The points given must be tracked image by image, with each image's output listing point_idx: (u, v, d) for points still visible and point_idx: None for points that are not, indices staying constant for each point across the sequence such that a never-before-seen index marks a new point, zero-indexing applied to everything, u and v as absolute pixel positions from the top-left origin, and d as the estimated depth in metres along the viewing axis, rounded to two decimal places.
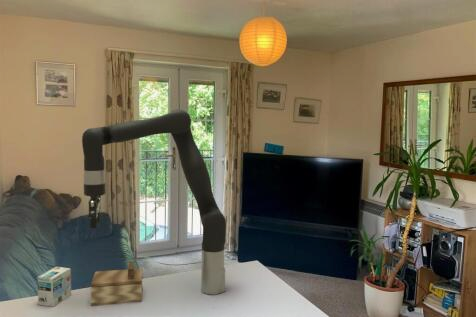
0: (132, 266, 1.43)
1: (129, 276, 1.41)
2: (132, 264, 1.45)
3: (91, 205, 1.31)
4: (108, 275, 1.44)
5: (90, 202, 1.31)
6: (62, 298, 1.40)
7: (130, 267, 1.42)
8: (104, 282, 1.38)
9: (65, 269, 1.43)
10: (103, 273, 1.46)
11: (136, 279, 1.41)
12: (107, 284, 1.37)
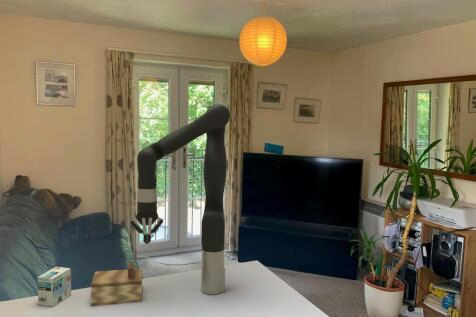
0: (132, 266, 1.43)
1: (129, 276, 1.41)
2: (132, 264, 1.45)
3: (161, 223, 1.45)
4: (108, 275, 1.44)
5: None
6: (62, 298, 1.40)
7: (130, 267, 1.42)
8: (104, 282, 1.38)
9: (65, 269, 1.43)
10: (103, 273, 1.46)
11: (136, 279, 1.41)
12: (107, 284, 1.37)
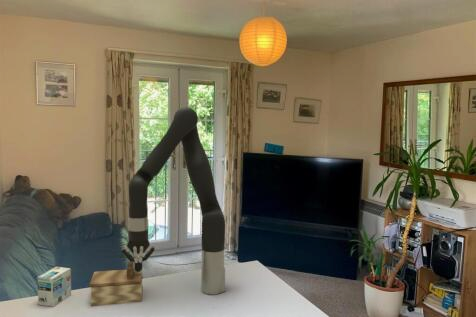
0: (131, 266, 1.43)
1: (128, 276, 1.41)
2: (131, 264, 1.45)
3: None
4: (107, 275, 1.44)
5: (154, 249, 1.45)
6: (62, 298, 1.40)
7: (129, 267, 1.42)
8: (103, 282, 1.37)
9: (65, 269, 1.43)
10: (102, 273, 1.46)
11: (135, 279, 1.41)
12: (106, 284, 1.37)
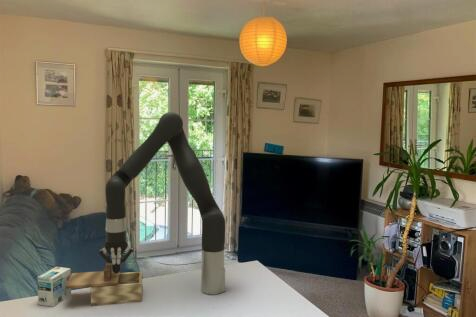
0: (108, 268, 1.41)
1: (105, 278, 1.39)
2: (109, 265, 1.43)
3: (131, 252, 1.44)
4: (84, 277, 1.42)
5: (132, 250, 1.43)
6: (62, 298, 1.40)
7: (106, 269, 1.40)
8: (79, 284, 1.36)
9: (65, 269, 1.43)
10: (79, 274, 1.44)
11: (112, 281, 1.39)
12: (82, 286, 1.35)
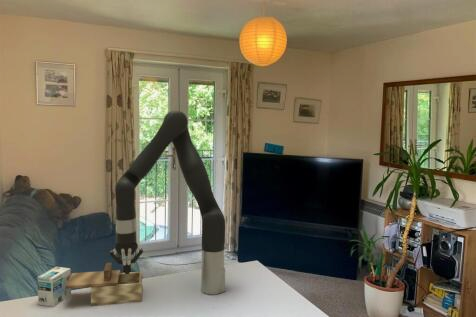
0: (108, 268, 1.41)
1: (105, 278, 1.39)
2: (109, 265, 1.43)
3: (141, 253, 1.44)
4: (84, 277, 1.42)
5: (142, 251, 1.44)
6: (62, 298, 1.40)
7: (106, 269, 1.40)
8: (79, 284, 1.36)
9: (65, 269, 1.43)
10: (79, 274, 1.44)
11: (112, 281, 1.39)
12: (82, 286, 1.35)
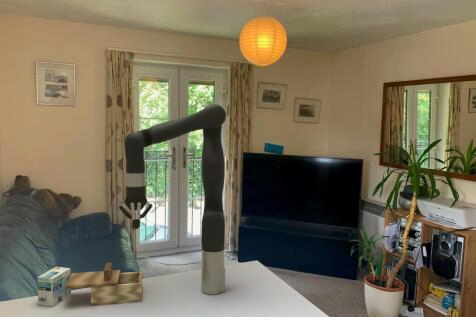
0: (108, 268, 1.41)
1: (105, 278, 1.39)
2: (109, 265, 1.43)
3: (150, 208, 1.44)
4: (84, 277, 1.42)
5: None
6: (62, 298, 1.40)
7: (106, 269, 1.40)
8: (79, 284, 1.36)
9: (65, 269, 1.43)
10: (79, 274, 1.44)
11: (112, 281, 1.39)
12: (82, 286, 1.35)
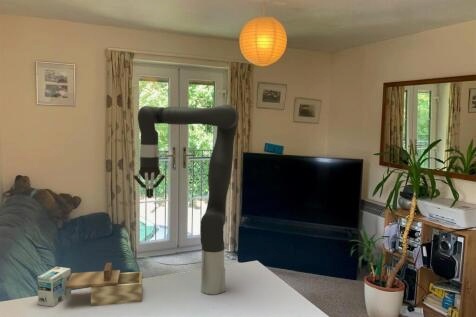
0: (108, 268, 1.41)
1: (105, 278, 1.39)
2: (109, 265, 1.43)
3: None
4: (84, 277, 1.42)
5: (164, 176, 1.52)
6: (62, 298, 1.40)
7: (106, 269, 1.40)
8: (79, 284, 1.36)
9: (65, 269, 1.43)
10: (79, 274, 1.44)
11: (112, 281, 1.39)
12: (82, 286, 1.35)
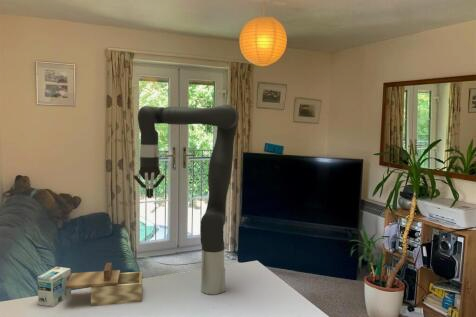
0: (108, 268, 1.41)
1: (105, 278, 1.39)
2: (109, 265, 1.43)
3: None
4: (84, 277, 1.42)
5: (164, 176, 1.52)
6: (62, 298, 1.40)
7: (106, 269, 1.40)
8: (79, 284, 1.36)
9: (65, 269, 1.43)
10: (79, 274, 1.44)
11: (112, 281, 1.39)
12: (82, 286, 1.35)
